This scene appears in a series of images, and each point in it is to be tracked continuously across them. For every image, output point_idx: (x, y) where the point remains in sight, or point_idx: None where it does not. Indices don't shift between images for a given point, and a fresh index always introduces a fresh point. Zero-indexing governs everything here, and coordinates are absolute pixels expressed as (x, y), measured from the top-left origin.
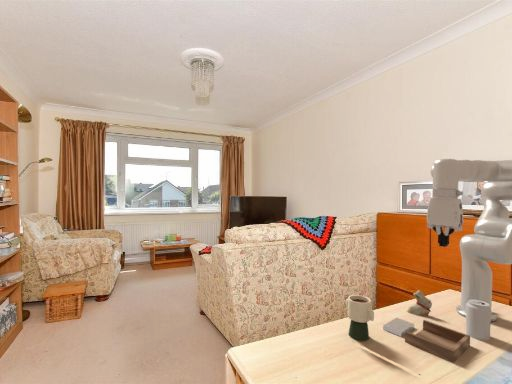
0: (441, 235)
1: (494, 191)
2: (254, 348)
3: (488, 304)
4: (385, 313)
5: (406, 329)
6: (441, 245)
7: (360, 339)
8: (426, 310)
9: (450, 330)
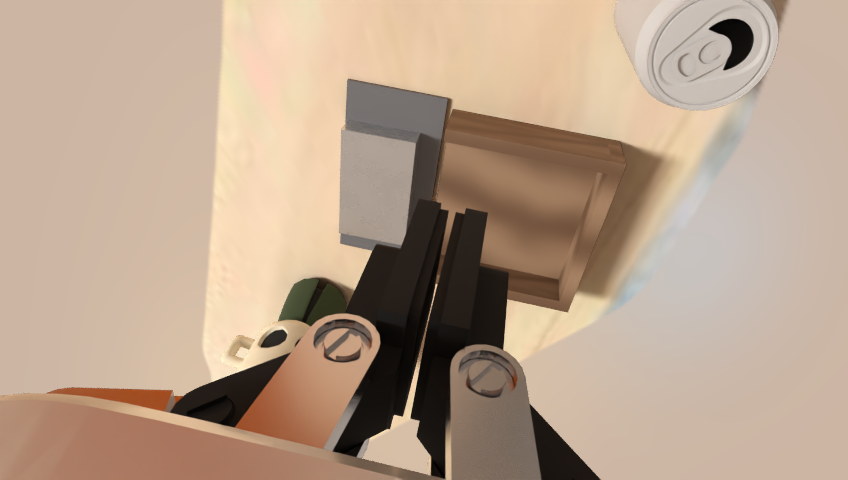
0: (394, 414)
1: None
2: None
3: (773, 39)
4: (267, 35)
5: (408, 208)
6: (430, 306)
7: None
8: None
9: (553, 163)
